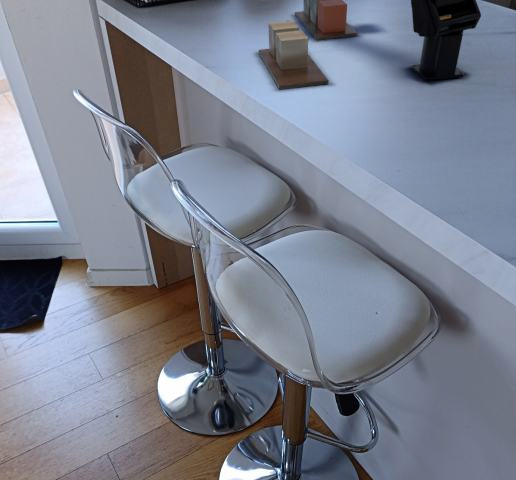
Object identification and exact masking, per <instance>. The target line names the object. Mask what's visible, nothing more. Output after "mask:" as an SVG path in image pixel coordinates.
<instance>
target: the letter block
mask: <svg viewBox="0 0 516 480" xmlns="http://www.w3.org/2000/svg"><path fill="white" fill-rule="evenodd" d="M347 15H348V3H346V2H345V1H344V0H324V1H318V26H317V27H318V28H319V29H320V30H321V31H322V32H323V33H332V32H342V31H346V23H347V18H348V17H347Z"/></svg>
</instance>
